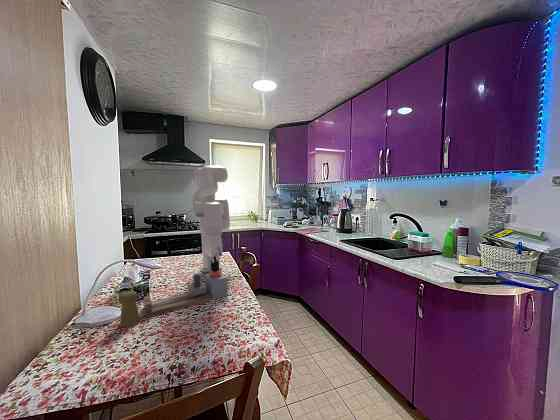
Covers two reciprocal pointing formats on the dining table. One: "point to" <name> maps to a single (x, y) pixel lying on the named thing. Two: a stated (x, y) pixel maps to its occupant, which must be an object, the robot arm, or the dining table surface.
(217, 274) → the button
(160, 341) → the dining table surface
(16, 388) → the dining table surface
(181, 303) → the board
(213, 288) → the end cabinet
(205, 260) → the robot arm
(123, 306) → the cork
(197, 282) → the carriage
